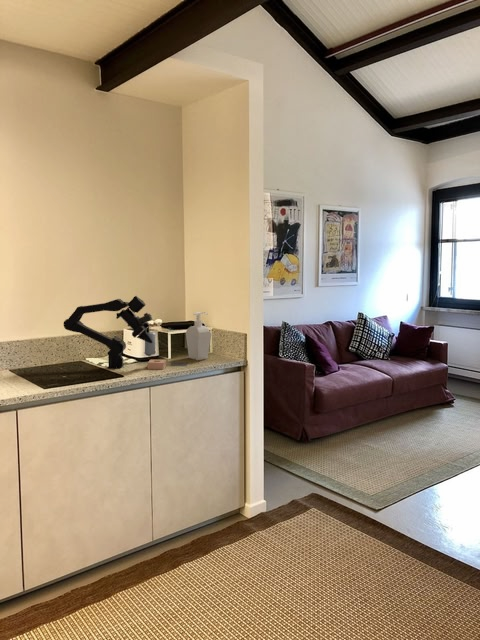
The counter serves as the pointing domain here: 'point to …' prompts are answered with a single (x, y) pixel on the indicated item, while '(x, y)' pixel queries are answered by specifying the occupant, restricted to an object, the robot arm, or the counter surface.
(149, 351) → the grey domed cylinder
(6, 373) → the counter surface
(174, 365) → the mat
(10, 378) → the counter surface
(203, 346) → the soap bottle
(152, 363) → the salmon flat square slab
